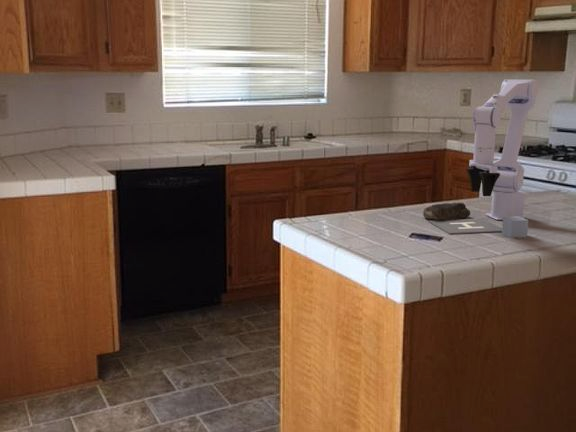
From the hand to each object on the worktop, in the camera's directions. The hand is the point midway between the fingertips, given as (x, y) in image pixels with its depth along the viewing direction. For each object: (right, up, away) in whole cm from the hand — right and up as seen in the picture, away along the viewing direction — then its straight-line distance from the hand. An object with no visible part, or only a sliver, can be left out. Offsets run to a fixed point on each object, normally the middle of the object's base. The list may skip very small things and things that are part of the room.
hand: (481, 193), depth 190 cm
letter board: (-3, -10, +4) cm, 11 cm away
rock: (-7, -7, +15) cm, 18 cm away
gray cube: (+8, -12, -6) cm, 16 cm away
